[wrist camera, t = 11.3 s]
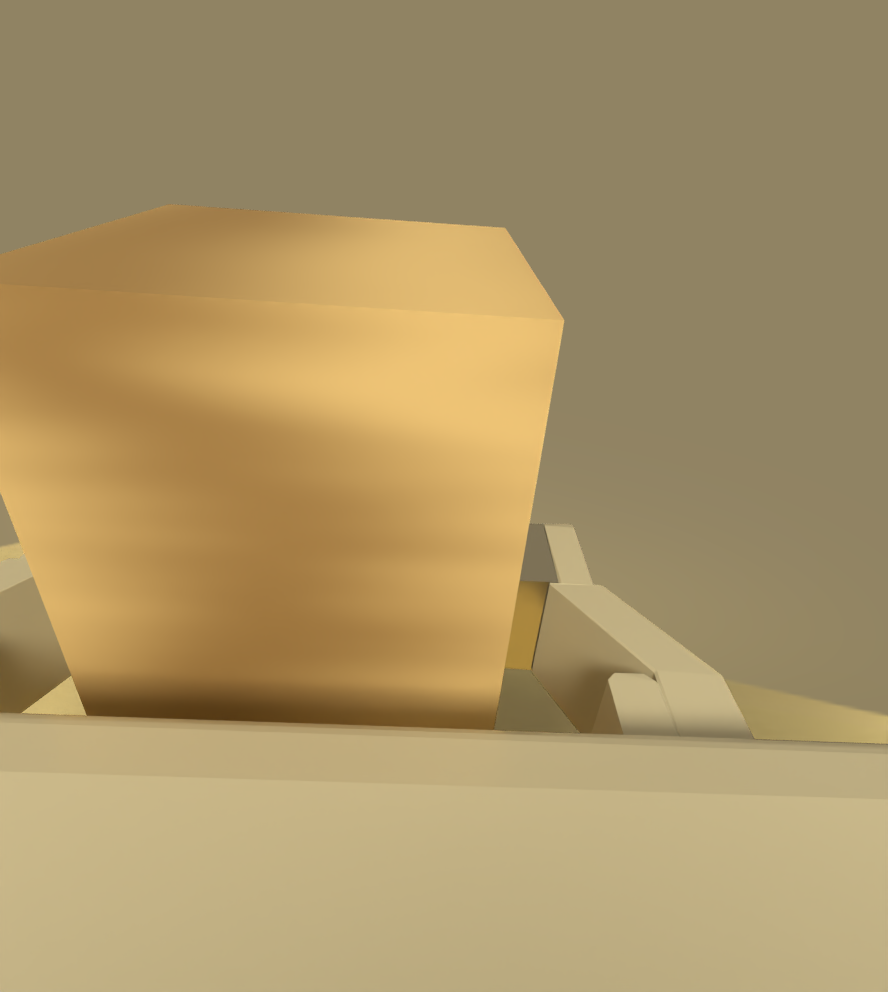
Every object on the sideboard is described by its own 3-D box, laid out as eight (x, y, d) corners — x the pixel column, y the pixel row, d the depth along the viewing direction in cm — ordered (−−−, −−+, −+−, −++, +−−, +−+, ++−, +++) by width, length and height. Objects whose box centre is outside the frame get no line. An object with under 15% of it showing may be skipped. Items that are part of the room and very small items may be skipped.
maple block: (452, 707, 15) (505, 228, 9) (457, 940, 11) (564, 320, 5) (249, 699, 15) (169, 204, 9) (171, 935, 10) (-82, 277, 5)
